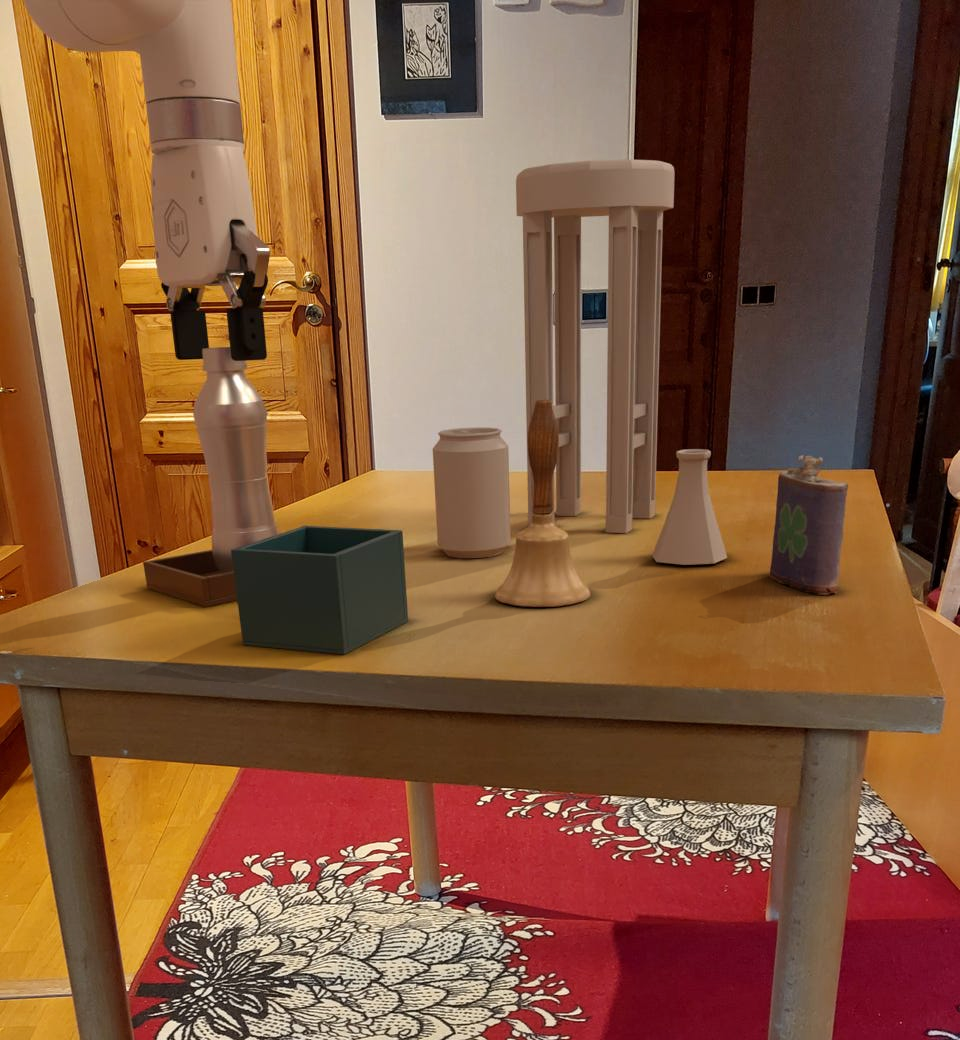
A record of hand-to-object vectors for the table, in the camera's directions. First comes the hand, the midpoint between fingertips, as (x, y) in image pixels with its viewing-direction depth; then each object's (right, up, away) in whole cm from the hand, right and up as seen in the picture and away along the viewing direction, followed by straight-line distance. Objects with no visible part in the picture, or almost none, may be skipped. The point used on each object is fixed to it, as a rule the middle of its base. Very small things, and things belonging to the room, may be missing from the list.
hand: (220, 359), depth 103 cm
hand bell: (+28, -21, -1) cm, 35 cm away
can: (+22, -13, +18) cm, 31 cm away
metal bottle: (+1, -17, +9) cm, 19 cm away
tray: (+1, -17, +9) cm, 20 cm away
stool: (+36, -6, +31) cm, 47 cm away
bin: (+11, -26, -9) cm, 29 cm away
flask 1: (+43, -15, +10) cm, 47 cm away
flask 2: (+51, -20, 0) cm, 55 cm away
